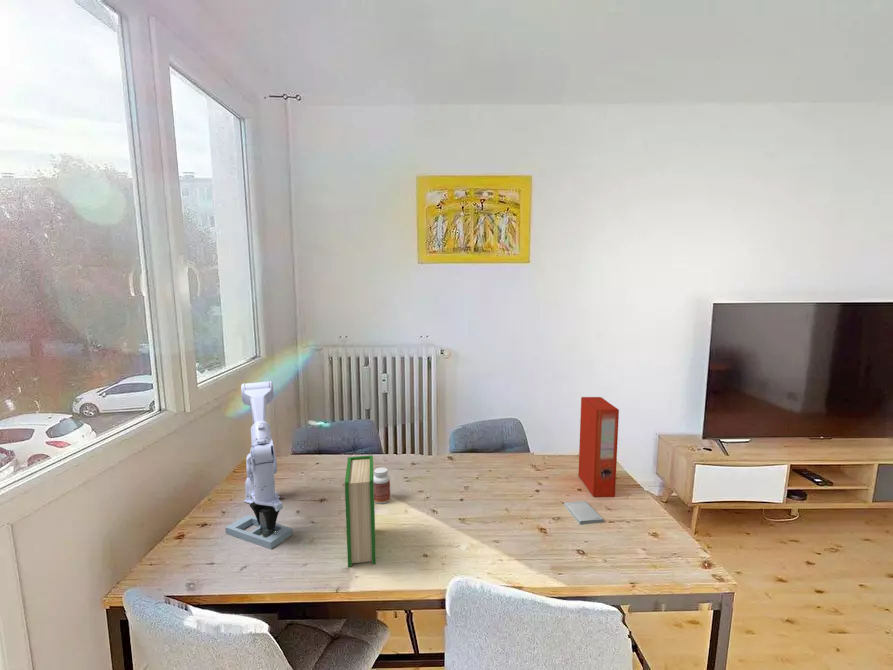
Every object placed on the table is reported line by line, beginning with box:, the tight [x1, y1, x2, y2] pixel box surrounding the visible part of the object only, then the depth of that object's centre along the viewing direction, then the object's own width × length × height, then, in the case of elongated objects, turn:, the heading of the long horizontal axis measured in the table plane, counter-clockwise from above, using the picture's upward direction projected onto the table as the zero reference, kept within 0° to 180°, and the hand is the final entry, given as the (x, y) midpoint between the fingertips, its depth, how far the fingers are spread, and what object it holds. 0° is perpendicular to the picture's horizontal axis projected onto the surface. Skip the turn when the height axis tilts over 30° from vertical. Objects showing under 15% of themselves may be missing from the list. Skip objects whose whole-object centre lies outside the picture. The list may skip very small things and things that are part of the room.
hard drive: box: [563, 500, 605, 525], centre depth 146 cm, size 2×8×12 cm
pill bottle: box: [373, 467, 391, 505], centre depth 156 cm, size 6×6×11 cm
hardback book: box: [344, 454, 377, 568], centre depth 127 cm, size 18×7×24 cm, turn 10°
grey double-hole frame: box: [225, 514, 294, 550], centre depth 136 cm, size 19×8×2 cm, turn 64°
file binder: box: [578, 396, 620, 498], centre depth 164 cm, size 8×17×32 cm, turn 1°
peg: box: [259, 507, 275, 536], centre depth 134 cm, size 4×4×7 cm
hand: (266, 526), depth 134 cm, fingers closed on peg, 4 cm apart
